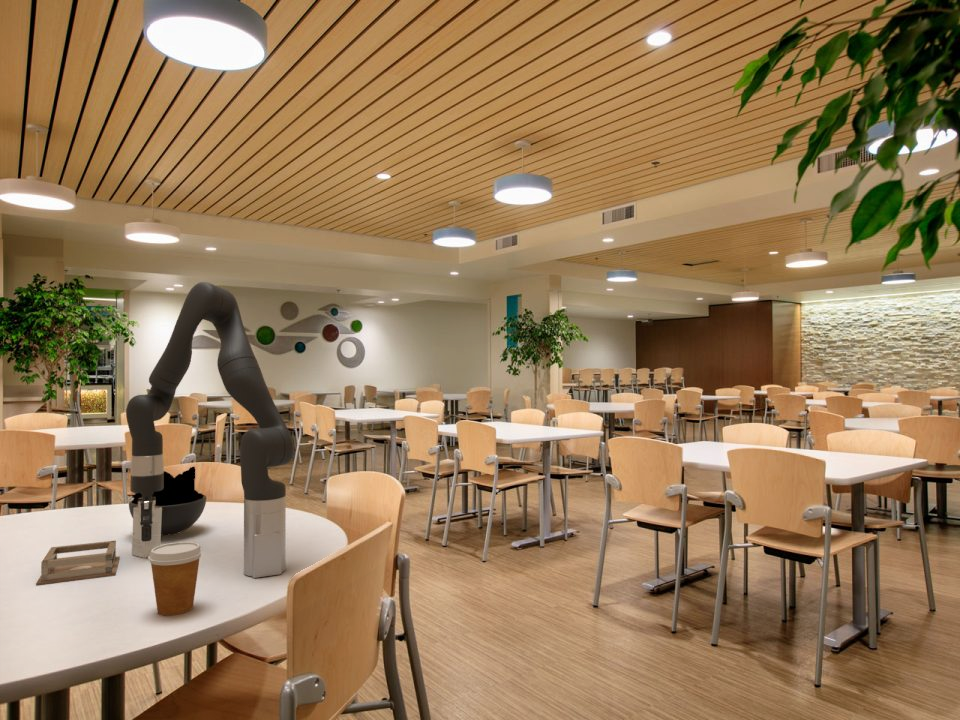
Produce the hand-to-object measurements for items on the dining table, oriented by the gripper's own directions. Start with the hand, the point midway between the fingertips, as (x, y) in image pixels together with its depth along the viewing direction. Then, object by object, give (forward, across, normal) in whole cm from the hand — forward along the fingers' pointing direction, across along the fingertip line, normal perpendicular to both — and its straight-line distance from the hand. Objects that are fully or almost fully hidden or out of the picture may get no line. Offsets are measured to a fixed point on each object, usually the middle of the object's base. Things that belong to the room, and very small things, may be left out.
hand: (146, 537), depth 161 cm
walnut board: (+4, -8, +14) cm, 16 cm away
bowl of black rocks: (+5, +20, -5) cm, 21 cm away
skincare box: (+5, 0, 0) cm, 5 cm away
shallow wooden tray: (+4, -8, +14) cm, 16 cm away
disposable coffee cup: (+5, -45, -6) cm, 46 cm away
